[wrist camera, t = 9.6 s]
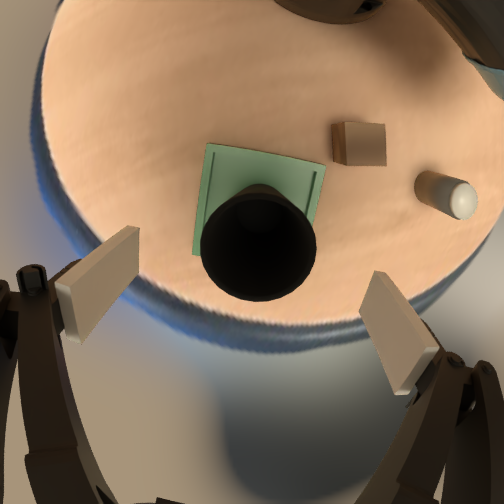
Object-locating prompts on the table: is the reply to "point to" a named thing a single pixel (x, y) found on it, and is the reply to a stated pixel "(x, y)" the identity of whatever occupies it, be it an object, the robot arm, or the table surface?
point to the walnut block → (359, 144)
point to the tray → (254, 180)
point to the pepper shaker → (446, 194)
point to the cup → (258, 245)
